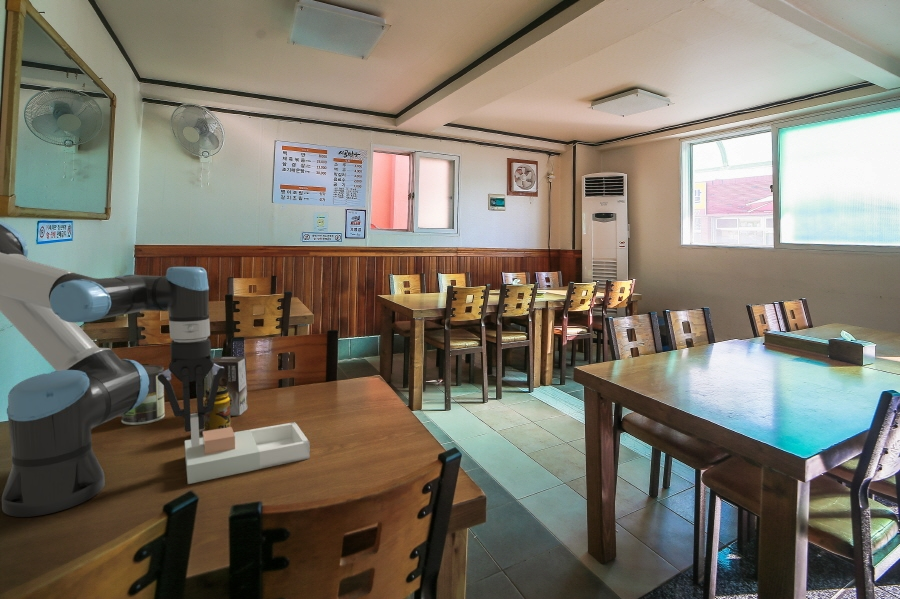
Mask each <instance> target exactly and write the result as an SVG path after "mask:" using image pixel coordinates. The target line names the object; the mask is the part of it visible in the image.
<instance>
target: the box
mask: <svg viewBox="0 0 900 599" xmlns="http://www.w3.org/2000/svg"><path fill="white" fill-rule="evenodd" d="M249 430H250V431H251V434H252V436H253V438H254V440H255V443H256V445H257V447H258V449H259V451H260V469H259V470H261V469H265V468H270V467H274V466H275V467H276V466H281V465H283V464H285V465H286V464H289V463H294V462H299V461H305V460H309V459H310V458H311V457H310V456H311V455H310V453H311V452H310V451H311V450H310V448H311V447H310V444H311V443H310V440H308V438H307V436H306V435H305V434H304V432H303V431H302V430H301V428H300V427H299V425H298V424H297V423H296V422H295V421H294V422H288V423H282V424H276V425H271V426H263V427H258V428H253V429H249Z"/></svg>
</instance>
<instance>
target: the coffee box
mask: <svg viewBox="0 0 900 599" xmlns="http://www.w3.org/2000/svg"><path fill="white" fill-rule="evenodd" d="M212 360H213V362H214V364H216V365H218V366H223V367H224V369H225V372H224V374H223V375H222V377H221V378H220V381H219V386H222V387H227V388H228V397H229V398H230V416H241V415H242V414H243V413H244V412H246V411H247V410H248V386H247V385H248V384H247V381H248V380H247V379H248V378H247V377H248V376H247V357H246V356H214V357H213V358H212ZM212 371H213V369H211V370H210V371H209V373H208V374H207V376H206V377H207V379H206V380H207V389H209V388H211V383H212V379H213V376H214V375H213V373H212Z"/></svg>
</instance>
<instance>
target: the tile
mask: <svg viewBox="0 0 900 599" xmlns="http://www.w3.org/2000/svg"><path fill="white" fill-rule="evenodd" d="M203 447H204V452H205V454H210V453H216V452H221V451H227V450H232V449H235V435H234V429H233V427H232V426H230V427H228V428H221V429H215V430H209V431H203Z"/></svg>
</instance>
